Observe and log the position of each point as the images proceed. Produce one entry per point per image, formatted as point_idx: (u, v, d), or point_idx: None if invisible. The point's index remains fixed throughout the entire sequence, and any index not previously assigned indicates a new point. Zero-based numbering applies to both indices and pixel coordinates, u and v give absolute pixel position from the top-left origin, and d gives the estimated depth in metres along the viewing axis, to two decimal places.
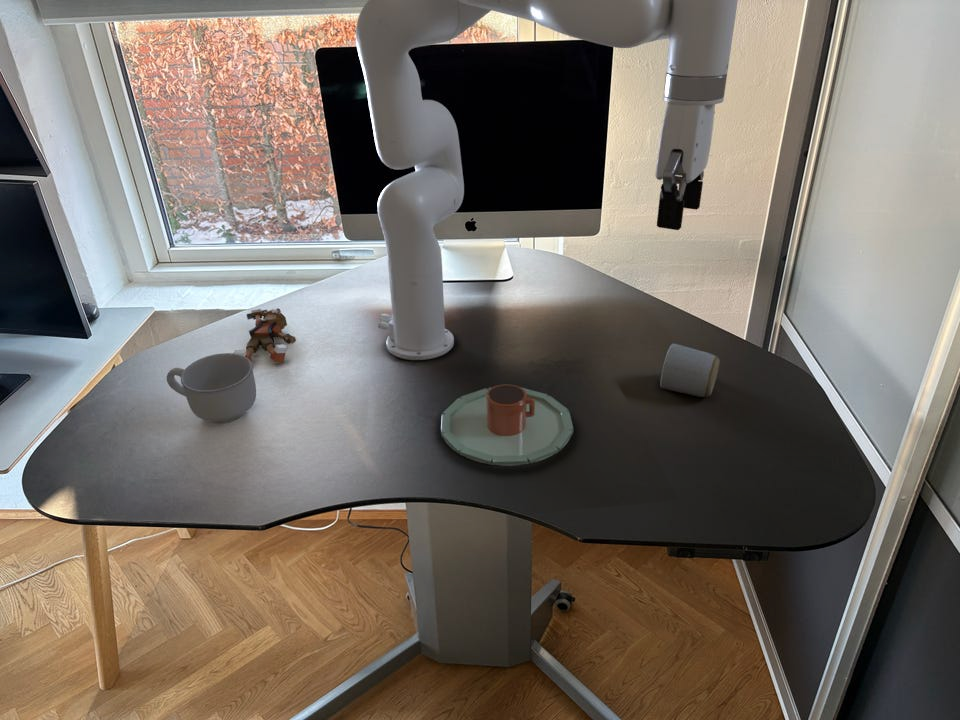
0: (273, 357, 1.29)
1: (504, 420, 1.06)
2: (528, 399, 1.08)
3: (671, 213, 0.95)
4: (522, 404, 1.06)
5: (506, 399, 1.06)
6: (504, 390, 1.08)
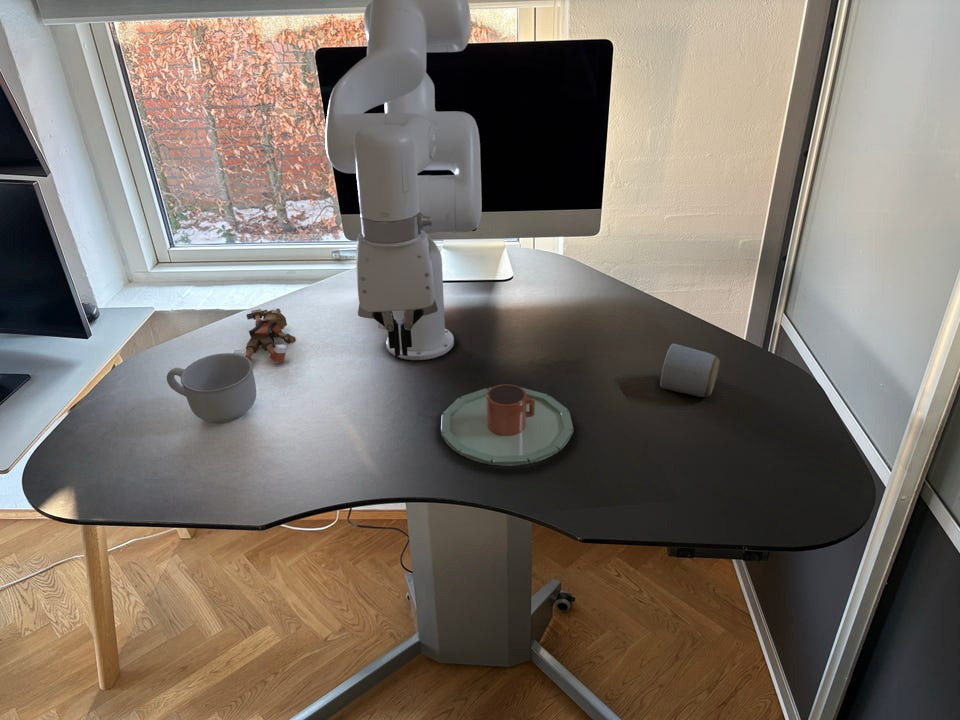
0: (273, 357, 1.29)
1: (504, 420, 1.06)
2: (528, 399, 1.08)
3: (388, 338, 1.00)
4: (522, 404, 1.06)
5: (506, 399, 1.06)
6: (504, 390, 1.08)
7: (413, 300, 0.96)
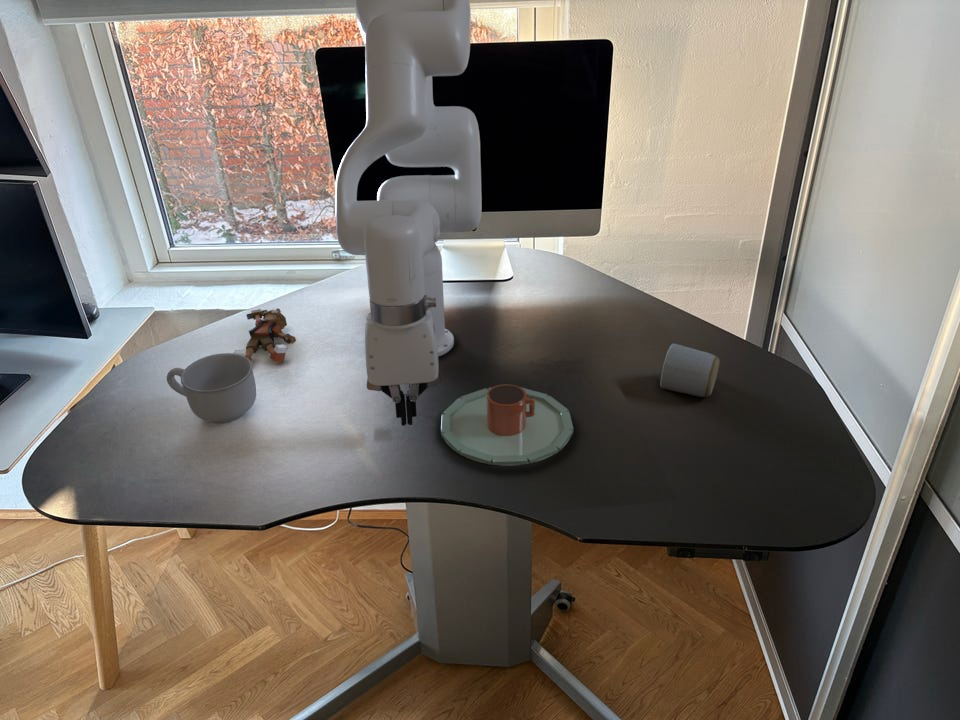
0: (273, 357, 1.29)
1: (504, 420, 1.06)
2: (528, 399, 1.08)
3: None
4: (522, 404, 1.06)
5: (506, 399, 1.06)
6: (504, 390, 1.08)
7: (418, 375, 1.01)
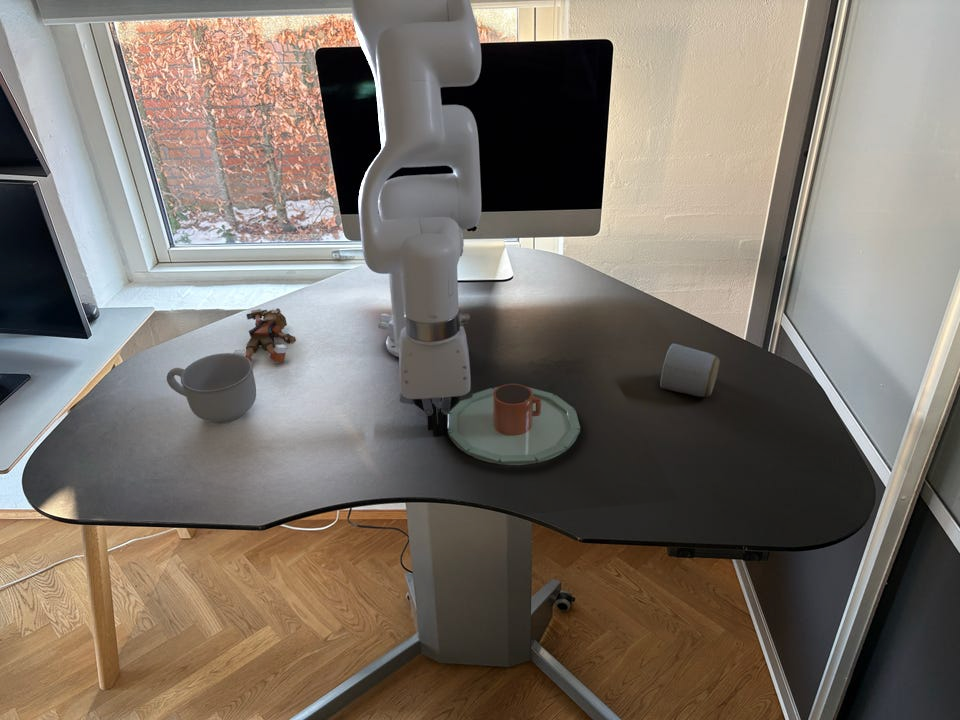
0: (273, 357, 1.29)
1: (511, 420, 1.06)
2: (534, 398, 1.08)
3: None
4: (529, 404, 1.06)
5: (513, 398, 1.06)
6: (510, 389, 1.08)
7: (451, 389, 1.03)
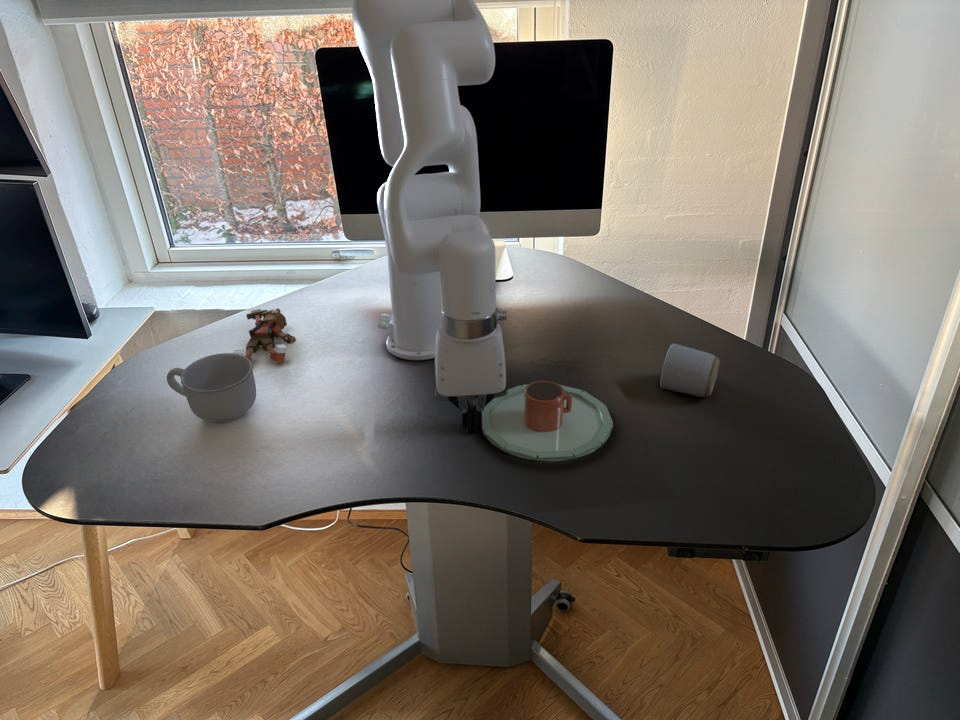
0: (273, 357, 1.29)
1: (543, 417, 1.07)
2: (565, 395, 1.09)
3: (462, 418, 1.08)
4: (561, 400, 1.07)
5: (545, 395, 1.07)
6: (541, 386, 1.09)
7: (487, 386, 1.03)
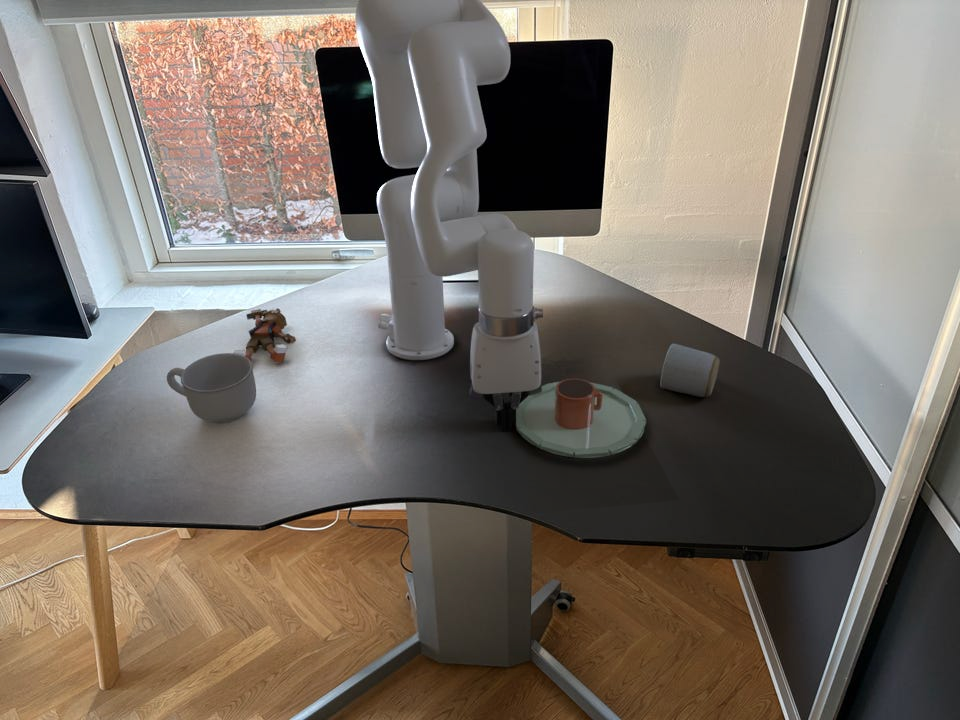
0: (273, 357, 1.29)
1: (575, 414, 1.07)
2: (596, 392, 1.09)
3: (496, 416, 1.08)
4: (592, 398, 1.07)
5: (576, 393, 1.07)
6: (572, 384, 1.09)
7: (522, 384, 1.04)
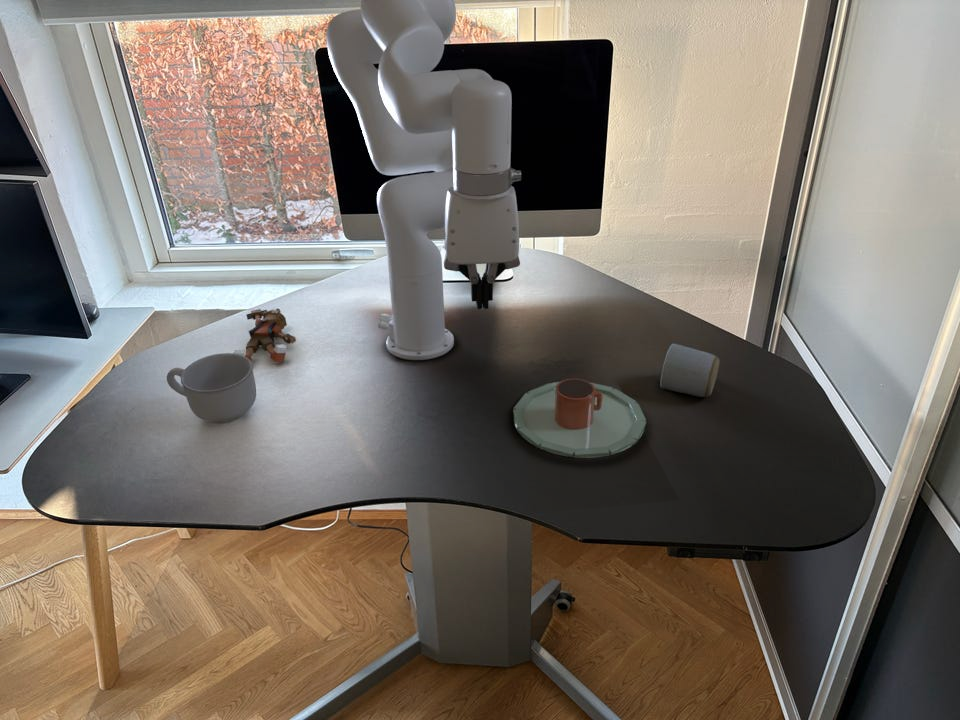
0: (273, 357, 1.29)
1: (575, 414, 1.07)
2: (596, 392, 1.09)
3: (471, 291, 1.03)
4: (592, 398, 1.07)
5: (576, 393, 1.07)
6: (572, 384, 1.09)
7: (499, 253, 0.99)
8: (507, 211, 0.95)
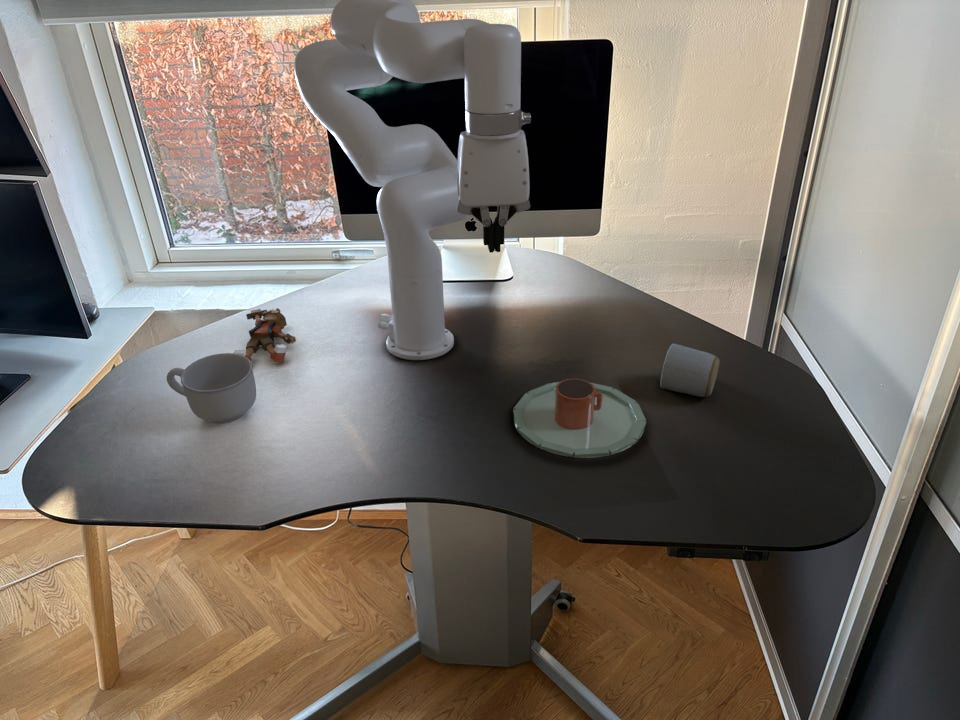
0: (273, 357, 1.29)
1: (575, 414, 1.07)
2: (596, 392, 1.09)
3: (484, 235, 1.07)
4: (592, 398, 1.07)
5: (576, 393, 1.07)
6: (572, 384, 1.09)
7: (510, 195, 1.02)
8: (518, 152, 0.99)
